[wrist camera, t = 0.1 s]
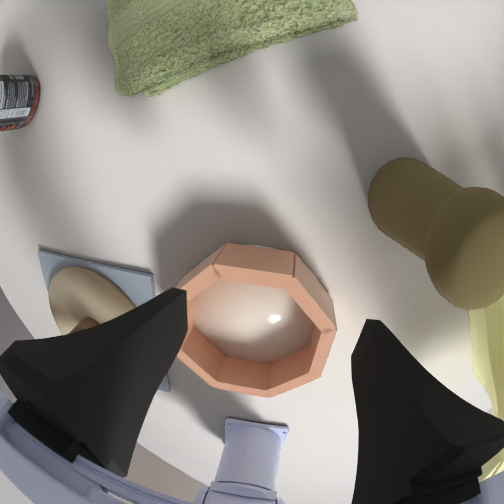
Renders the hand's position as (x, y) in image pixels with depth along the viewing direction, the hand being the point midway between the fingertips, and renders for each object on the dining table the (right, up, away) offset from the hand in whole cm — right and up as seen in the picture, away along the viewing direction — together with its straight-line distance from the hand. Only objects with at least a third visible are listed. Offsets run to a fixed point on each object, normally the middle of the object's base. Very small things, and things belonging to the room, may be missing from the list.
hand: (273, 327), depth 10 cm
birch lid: (-18, -5, +16) cm, 25 cm away
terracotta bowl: (-1, -2, +12) cm, 12 cm away
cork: (+10, +7, +7) cm, 14 cm away
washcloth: (-3, +22, +3) cm, 22 cm away
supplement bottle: (-25, +19, +8) cm, 32 cm away
